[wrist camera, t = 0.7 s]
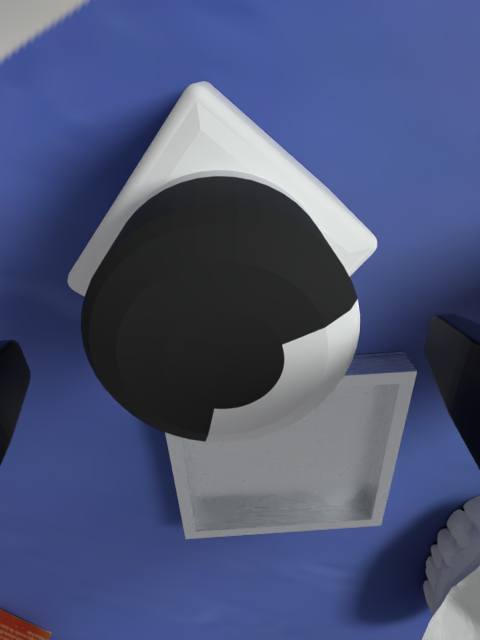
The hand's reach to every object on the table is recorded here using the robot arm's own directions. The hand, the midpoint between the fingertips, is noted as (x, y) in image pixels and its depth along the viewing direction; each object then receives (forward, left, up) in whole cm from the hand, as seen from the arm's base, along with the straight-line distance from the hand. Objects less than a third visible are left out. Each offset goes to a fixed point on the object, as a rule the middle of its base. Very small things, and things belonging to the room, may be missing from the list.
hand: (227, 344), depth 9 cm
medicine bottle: (0, 0, -12) cm, 12 cm away
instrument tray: (-3, +16, -11) cm, 20 cm away
